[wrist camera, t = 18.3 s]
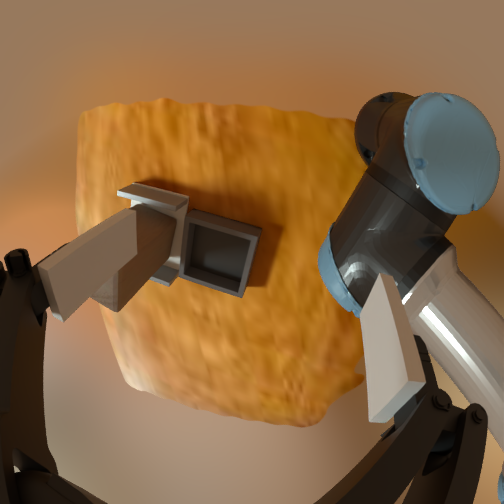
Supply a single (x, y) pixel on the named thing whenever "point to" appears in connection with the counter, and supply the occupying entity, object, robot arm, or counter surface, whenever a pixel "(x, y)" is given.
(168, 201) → the walled bay
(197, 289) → the counter surface
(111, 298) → the wooden block
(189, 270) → the box
